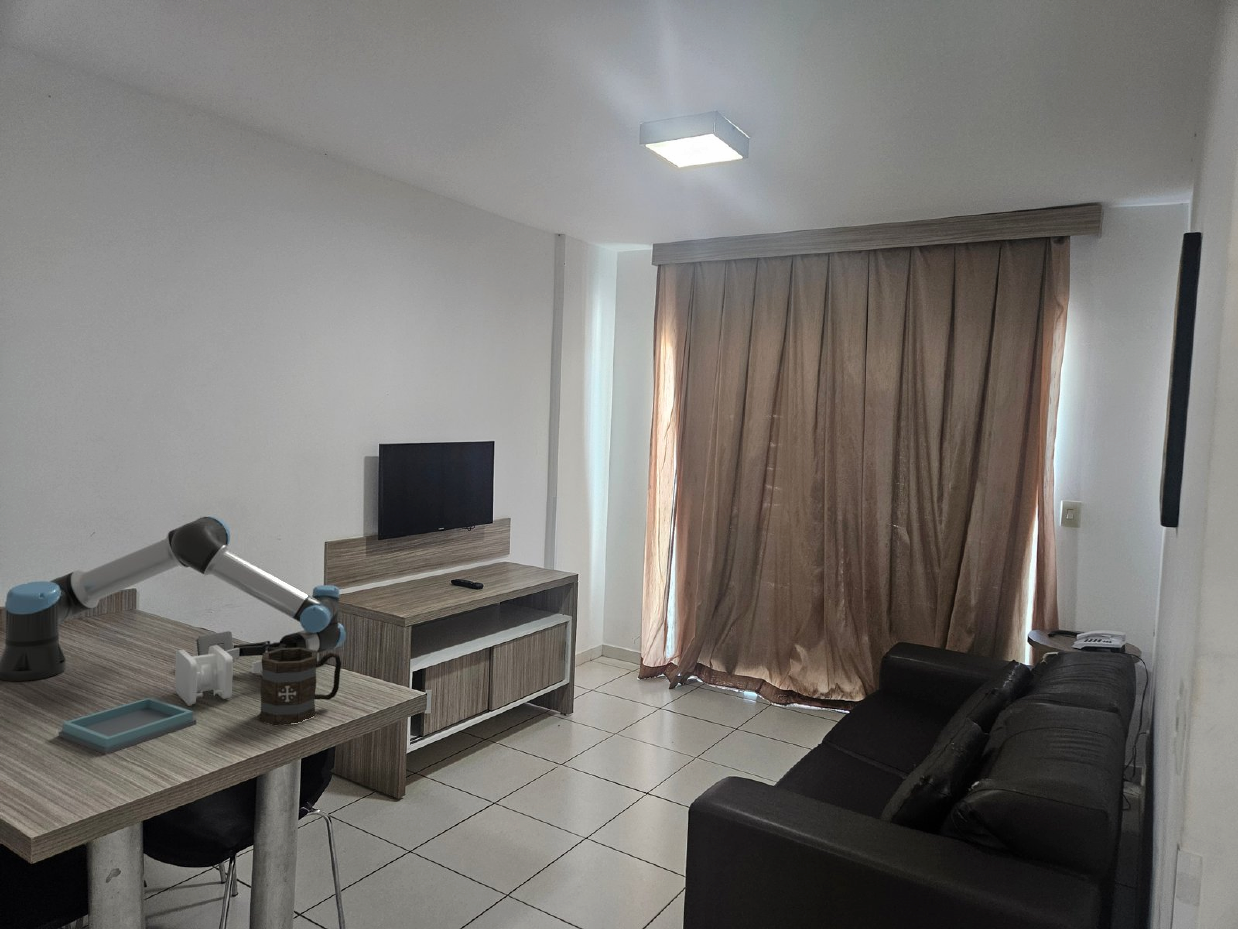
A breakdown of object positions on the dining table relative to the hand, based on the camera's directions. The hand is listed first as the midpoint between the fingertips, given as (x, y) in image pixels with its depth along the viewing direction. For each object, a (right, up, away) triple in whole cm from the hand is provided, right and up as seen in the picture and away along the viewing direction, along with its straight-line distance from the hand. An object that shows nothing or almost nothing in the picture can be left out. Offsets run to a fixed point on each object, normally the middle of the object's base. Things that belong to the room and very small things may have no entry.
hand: (234, 663), depth 215 cm
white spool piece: (-5, -7, -8) cm, 11 cm away
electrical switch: (-14, -5, +17) cm, 23 cm away
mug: (+23, -9, -15) cm, 29 cm away
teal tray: (-9, -8, -31) cm, 33 cm away
